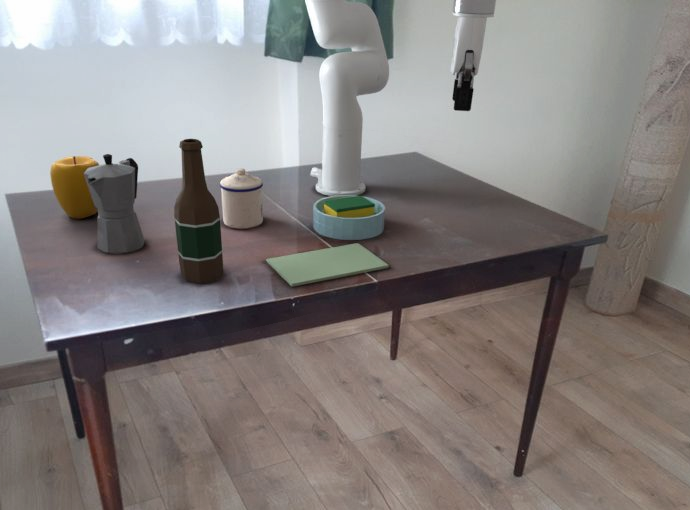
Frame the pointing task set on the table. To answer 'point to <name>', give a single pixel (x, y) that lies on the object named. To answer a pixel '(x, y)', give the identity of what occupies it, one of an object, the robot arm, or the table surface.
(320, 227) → the bowl
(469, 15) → the robot arm
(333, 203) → the sponge
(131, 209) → the coffeepot
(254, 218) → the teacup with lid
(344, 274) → the mat
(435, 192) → the table surface
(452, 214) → the table surface
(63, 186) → the apple
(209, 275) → the beer bottle
